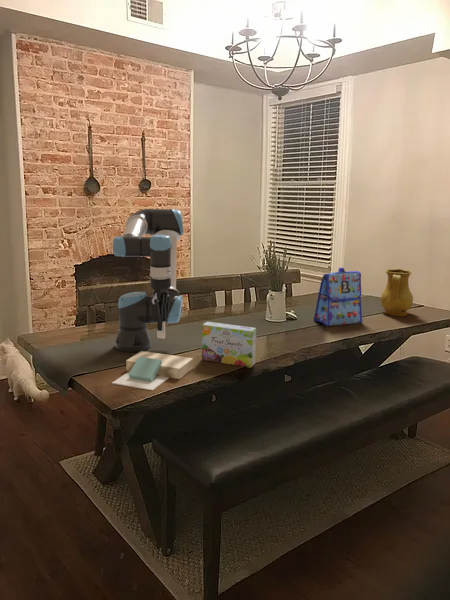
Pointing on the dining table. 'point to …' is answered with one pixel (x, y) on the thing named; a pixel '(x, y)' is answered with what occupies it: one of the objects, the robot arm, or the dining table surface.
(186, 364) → the board
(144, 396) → the dining table surface
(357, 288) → the lunch bag
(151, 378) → the coaster
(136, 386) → the mat
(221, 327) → the snack box
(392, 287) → the pitcher
